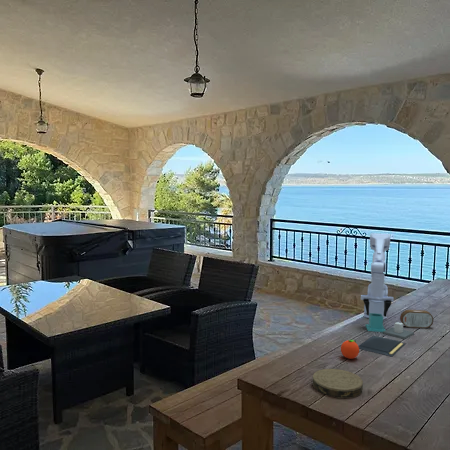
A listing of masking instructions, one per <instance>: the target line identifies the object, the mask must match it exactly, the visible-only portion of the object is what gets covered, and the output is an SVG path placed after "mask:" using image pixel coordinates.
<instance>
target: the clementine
mask: <svg viewBox="0 0 450 450" xmlns="http://www.w3.org/2000/svg"><path fill="white" fill-rule="evenodd" d="M358 346H359V344H358V343H357V342H356V340H354V339H349V340H348V339H347V340H345V341H344V342H342V343H341V345H340V352H341V354H342V356H343V357H345V358H346V359H349V360H350V359H351V360H352V359H353V360H354V359H355V358H357V357H358V356H359V353H360V349H359V347H358Z"/></svg>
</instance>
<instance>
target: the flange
mask: <svg viewBox="0 0 450 450" xmlns="http://www.w3.org/2000/svg"><path fill="white" fill-rule="evenodd" d="M365 328H366V330H367V332H375V333H376V332H377V333H383V331H385V330H386V329H385V326H384V319H383V316H382V314H376V313H369V318H368V323H367V324H366V323H365Z"/></svg>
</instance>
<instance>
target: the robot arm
mask: <svg viewBox="0 0 450 450" xmlns="http://www.w3.org/2000/svg"><path fill="white" fill-rule="evenodd" d="M390 245H391V234H390V233H381V232H380V233H379V232H376V233H375V232H371V233H370V234H369V246H370V249H371V250H373V251H374V252H373V253H372V261H371V264H370V275H371V276H370V278H371V283H369V284H368V285H367V294H360V300H361V301H363V305H364V307H363V308H364V309H363V315H362V317H363V318H366V319H369V313H376V314H382V316H383V320H386V319H388V317H387V315H388V311H389V309H390V308H391V305H392V303H394V302H395V301H394V300H395V298H394V296H388V294H389V290H388V289H389V287H388V285H387V284H385V275H386V271H387V263H386V254H385V253H386V251H389V249H390Z"/></svg>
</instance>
